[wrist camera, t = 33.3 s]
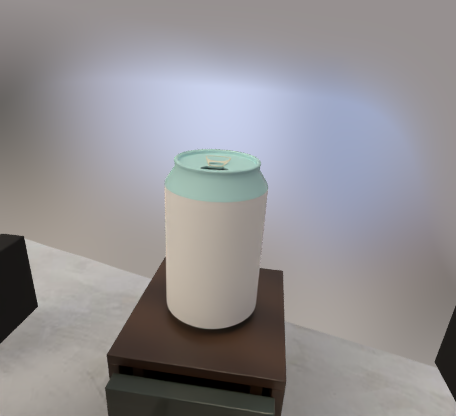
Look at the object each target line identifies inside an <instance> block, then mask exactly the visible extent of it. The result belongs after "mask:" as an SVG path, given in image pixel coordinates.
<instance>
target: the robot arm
mask: <svg viewBox="0 0 456 416" xmlns="http://www.w3.org/2000/svg"><path fill="white" fill-rule="evenodd" d="M37 307H38V304H37V299H36V294H35V289H34V284H33V279H32V274H31V269H30V264H29V259H28V254H27V249H26V244H25V240H24V236H17V235H9V234H0V343H1V342H2V341H3V340H4V339H6V338H7V337H8V336H9V335H10V334H11V333H12V332H13V331H14V330H15V329H16V328H17V327H18V326H19V325H20V324H21V323H22V322H23V321H24V320H25V319H26V318H27V317H28V316H29V315H30V314H31V313H32V312H33V311H34V310H35V309H36V308H37ZM435 364H436V365H437V367H438V369H439V371H440V373H441V375H442V377H443V379H444V380H445V382H446V384H447V386H448V388H449V390H450V392H451V394H452V395H453V397H454V399H455V401H456V306H455V309H454V312H453V314H452V317H451V320H450V322H449V325H448V328H447V331H446V333H445V336H444V339H443V341H442V344H441V346H440V349H439V352H438V354H437V357H436V360H435Z"/></svg>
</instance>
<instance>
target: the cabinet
mask: <svg viewBox="0 0 456 416" xmlns="http://www.w3.org/2000/svg"><path fill="white" fill-rule="evenodd" d="M107 361H108V369H109V378H111V376H112V374H113V373H118V374H124V375H131V376H133V367H134V368H140V369H147V370H153V371H160V372H166V373H173V374H180V375H186V376H193V377H199V378H206V379H212V380H219V381H225V382H232V383H238V384H245V385H251V386H258V387H263V391H262V396H266V397H272V398H274V399H275V416H281V411H282V405H283V398H284V392H285V386H286V358H285V325H284V293H283V271H279V270H271V269H263V268H260V269H259V279H258V288H257V298H256V306H255V309H254V311H253V312H252V314H251V315H250V316H249V317H248V318H247V319H245V320H244V321H242V322H240V323H238V324H236V325H233V326H230V327H226V328H221V329H204V328H198V327H195V326H191V325H189V324H186V323H184V322H182V321H181V320H179V319H178V318H176V317H175V316H174V315H173V314H172V313H171V311H170V310H169V308H168V305H167V292H166V257H165V258H164V260H163V262H162V263H161V265H160V267H159V268H158V270H157V272H156V273H155V275H154V277H153V278H152V280H151V282H150V283H149V285H148V287H147V288H146V290H145V292H144V293H143V295H142V297H141V298H140V300H139V302H138V303H137V305H136V307H135V308H134V310H133V312H132V313H131V315H130V317H129V318H128V320H127V322H126V323H125V325H124V327H123V328H122V330H121V332H120V333H119V335H118V337H117V339H116V340H115V342H114V344H113V345H112V347H111V349H110V350H109V352H108V354H107Z"/></svg>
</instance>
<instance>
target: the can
mask: <svg viewBox="0 0 456 416" xmlns="http://www.w3.org/2000/svg"><path fill="white" fill-rule="evenodd" d="M174 162H175V166H174V167H173V169H172V170H171V172H170V173H169V175H168V176H167V178H166V180H165V233H166V235H165V236H166V292H167V305H168V308H169V310H170V311H171V313H172V314H173V315H174V316H175V317H176V318H178V319H179V320H181V321H182V322H184V323H186V324H189V325H191V326H195V327H198V328H204V329H221V328H226V327H230V326H233V325H236V324H238V323H240V322H242V321H244V320H245V319H247V318H248V317H249V316H250V315H251V314H252V312H253V311H254V309H255V306H256V298H257V288H258V279H259V269H260V260H261V250H262V241H263V231H264V222H265V212H266V203H267V193H268V185H267V182H266V180H265V178H264V177H263V175H262V173H261V171H260V166H261V162H260V160H259V159H257V158H256V157H254V156H252V155H249V154H246V153H242V152H237V151H230V150H219V149H202V150H191V151H186V152H183V153H180V154H178V155H177V156H176V157H175V158H174Z"/></svg>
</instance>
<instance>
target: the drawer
mask: <svg viewBox="0 0 456 416" xmlns="http://www.w3.org/2000/svg"><path fill="white" fill-rule="evenodd" d="M105 391H106V400H107V408H108V416H275V399H274V398H272V397H266V396H262V391H263V387H258V386H251V385H245V384H238V383H232V382H225V381H219V380H212V379H206V378H199V377H193V376H186V375H180V374H173V373H166V372H160V371H153V370H147V369H140V368H134V367H133V376H131V375H124V374H118V373H113V374H112V376H111V378H110V380H109V382H108V384H107V385H106V387H105Z"/></svg>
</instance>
